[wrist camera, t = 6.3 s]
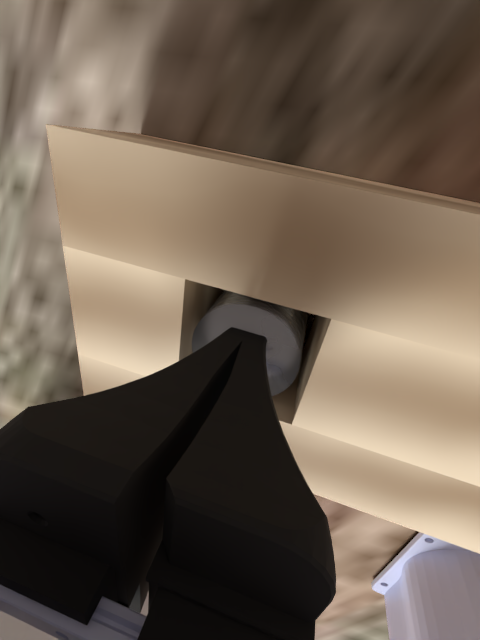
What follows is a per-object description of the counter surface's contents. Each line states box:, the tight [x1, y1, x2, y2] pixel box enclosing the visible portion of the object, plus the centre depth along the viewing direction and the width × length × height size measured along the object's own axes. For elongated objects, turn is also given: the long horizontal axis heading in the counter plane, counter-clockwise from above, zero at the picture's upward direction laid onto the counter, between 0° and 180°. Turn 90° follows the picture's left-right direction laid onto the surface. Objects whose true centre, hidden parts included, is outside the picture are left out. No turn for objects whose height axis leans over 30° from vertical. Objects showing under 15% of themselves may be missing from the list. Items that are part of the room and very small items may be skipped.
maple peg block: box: [46, 124, 480, 554], centre depth 12 cm, size 12×26×5 cm, turn 80°
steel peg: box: [192, 290, 308, 396], centre depth 13 cm, size 4×4×5 cm
